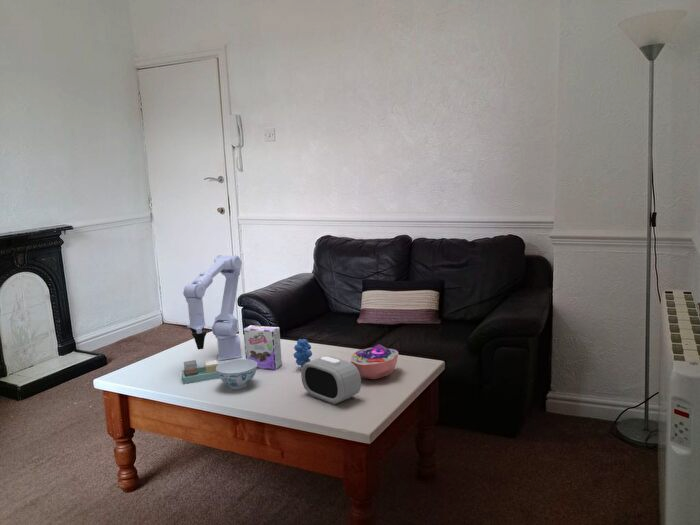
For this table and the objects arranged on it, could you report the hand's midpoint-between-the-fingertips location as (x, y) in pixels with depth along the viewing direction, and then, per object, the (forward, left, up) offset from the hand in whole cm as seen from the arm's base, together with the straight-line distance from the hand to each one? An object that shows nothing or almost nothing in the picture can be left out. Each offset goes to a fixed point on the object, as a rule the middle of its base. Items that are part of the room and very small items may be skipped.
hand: (199, 346), depth 230 cm
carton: (-3, +7, -10) cm, 13 cm away
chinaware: (-11, +23, -11) cm, 28 cm away
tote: (0, +7, -10) cm, 13 cm away
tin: (+5, +7, -10) cm, 13 cm away
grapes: (-39, +16, -11) cm, 43 cm away
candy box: (-24, +7, -11) cm, 27 cm away
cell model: (-60, +38, -11) cm, 72 cm away
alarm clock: (-39, +49, -11) cm, 64 cm away
